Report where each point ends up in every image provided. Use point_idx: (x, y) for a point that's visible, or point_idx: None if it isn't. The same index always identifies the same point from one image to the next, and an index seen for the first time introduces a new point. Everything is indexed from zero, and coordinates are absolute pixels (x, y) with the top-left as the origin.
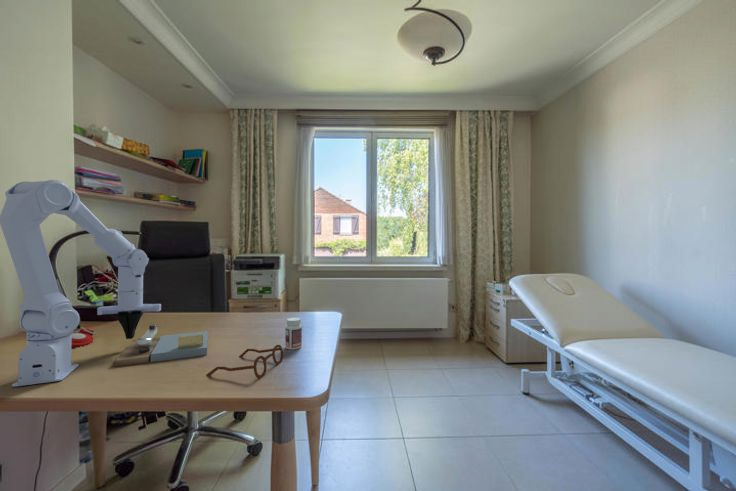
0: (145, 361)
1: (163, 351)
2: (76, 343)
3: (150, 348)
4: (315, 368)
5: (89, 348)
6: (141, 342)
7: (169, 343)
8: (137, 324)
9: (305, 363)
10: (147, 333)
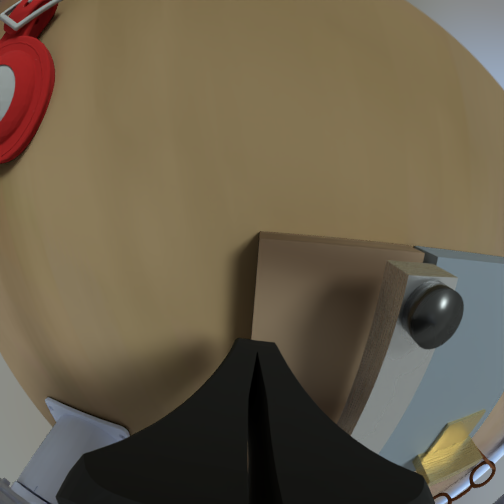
0: None
1: None
2: (6, 146)
3: None
4: (481, 473)
5: (55, 191)
6: None
7: (418, 419)
8: (316, 404)
9: None
10: (362, 441)
